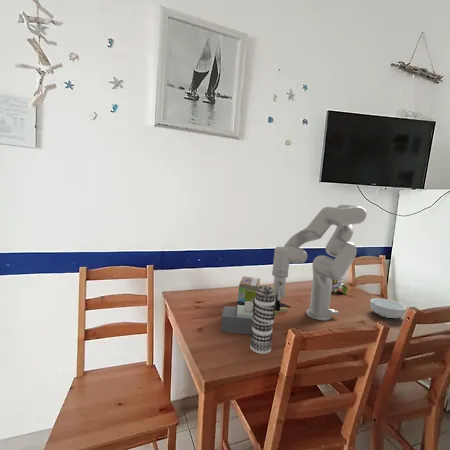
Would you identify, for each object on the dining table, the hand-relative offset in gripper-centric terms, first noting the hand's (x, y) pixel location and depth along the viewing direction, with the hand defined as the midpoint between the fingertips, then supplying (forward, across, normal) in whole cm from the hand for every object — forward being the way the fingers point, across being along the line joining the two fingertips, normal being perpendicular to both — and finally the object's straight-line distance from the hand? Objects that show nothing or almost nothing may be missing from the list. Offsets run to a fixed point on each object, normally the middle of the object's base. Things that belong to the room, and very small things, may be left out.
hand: (276, 308), depth 147 cm
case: (+6, -12, +17) cm, 21 cm away
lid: (-1, -12, +14) cm, 18 cm away
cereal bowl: (+5, +20, -61) cm, 65 cm away
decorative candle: (+6, -28, +8) cm, 29 cm away
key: (+3, 0, 0) cm, 3 cm away
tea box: (+6, +13, +14) cm, 20 cm away
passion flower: (+5, +54, -44) cm, 70 cm away
